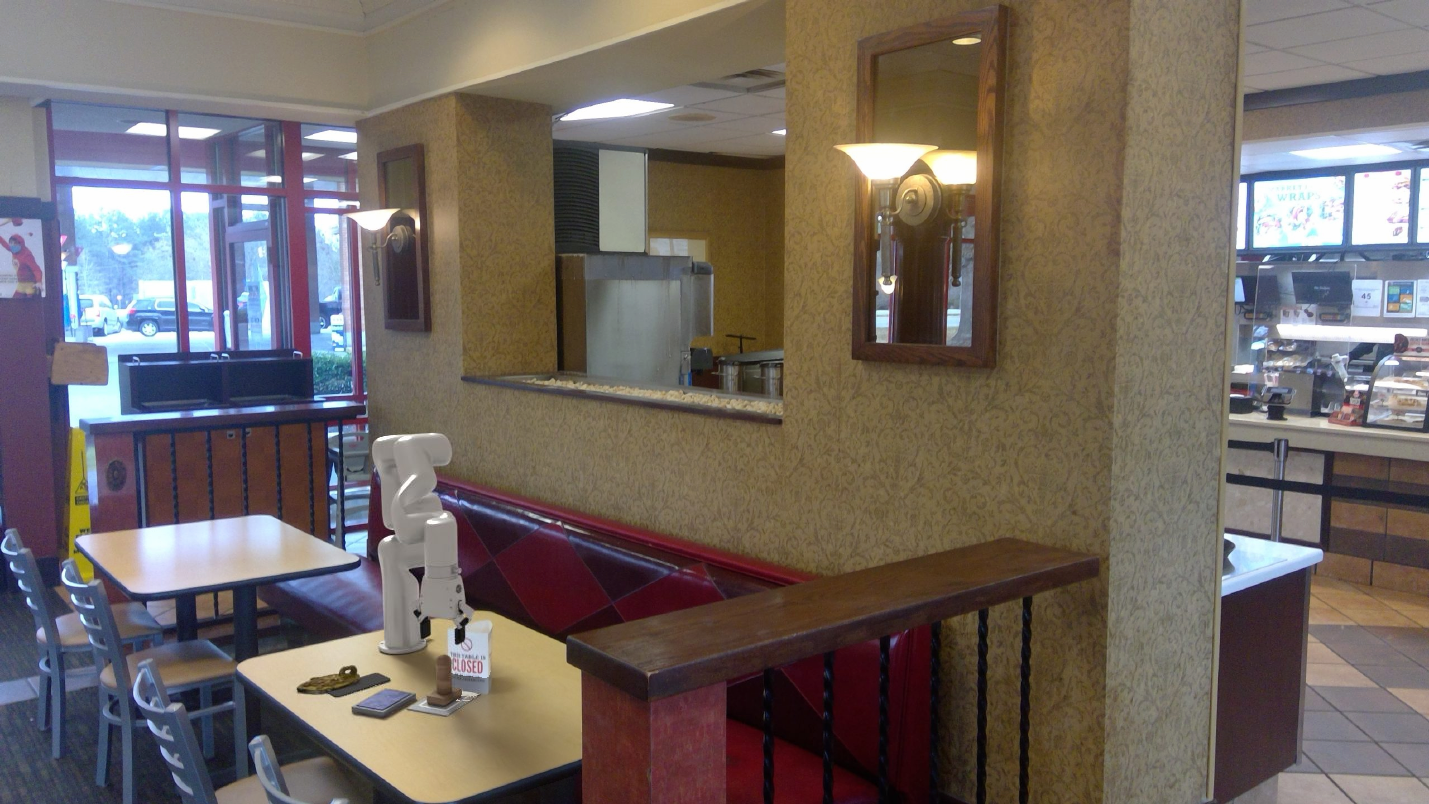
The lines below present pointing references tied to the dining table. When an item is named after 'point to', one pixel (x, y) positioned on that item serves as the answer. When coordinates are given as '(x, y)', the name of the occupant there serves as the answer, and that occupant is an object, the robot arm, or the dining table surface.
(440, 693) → the stamp
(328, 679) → the brass ornament
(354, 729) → the dining table surface
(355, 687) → the phone
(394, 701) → the ink pad
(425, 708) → the stamp card
